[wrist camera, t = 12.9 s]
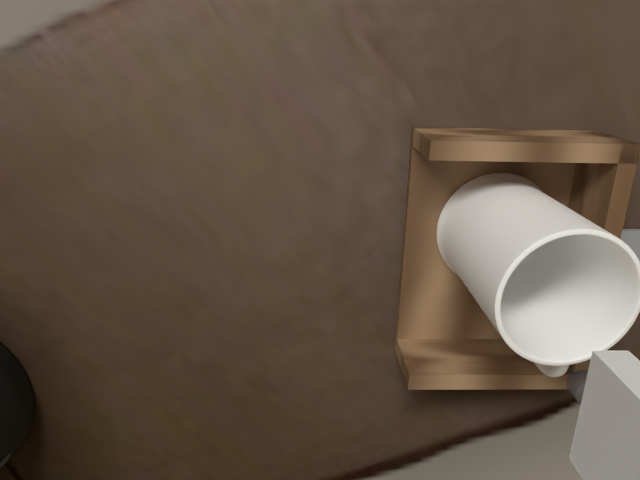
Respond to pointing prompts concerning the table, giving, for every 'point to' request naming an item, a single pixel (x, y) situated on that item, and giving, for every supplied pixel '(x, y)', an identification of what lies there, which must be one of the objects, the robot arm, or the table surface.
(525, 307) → the mug
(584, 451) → the robot arm
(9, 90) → the table surface
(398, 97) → the table surface
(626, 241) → the grey rectangular slab
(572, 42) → the table surface
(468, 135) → the keeper cradle
